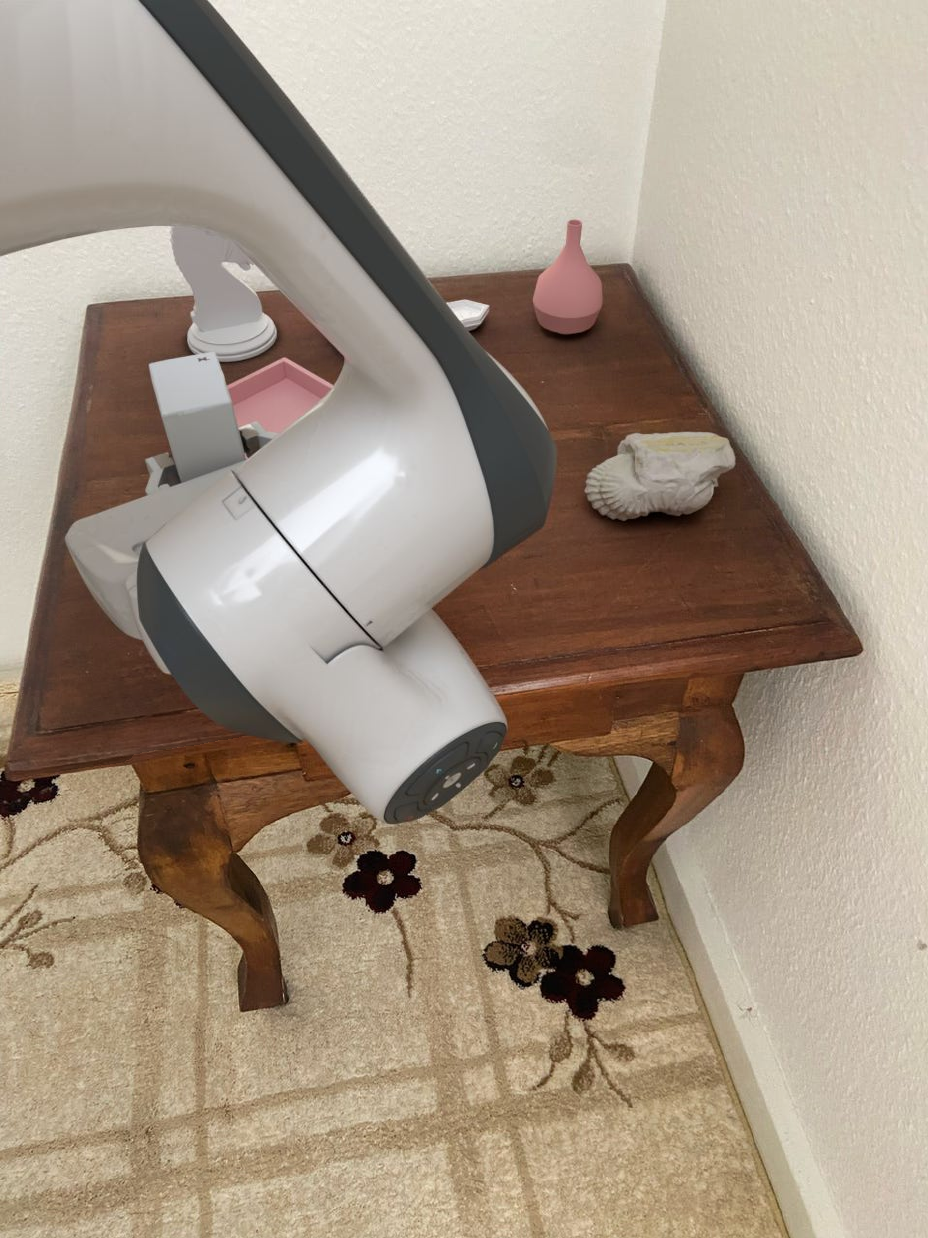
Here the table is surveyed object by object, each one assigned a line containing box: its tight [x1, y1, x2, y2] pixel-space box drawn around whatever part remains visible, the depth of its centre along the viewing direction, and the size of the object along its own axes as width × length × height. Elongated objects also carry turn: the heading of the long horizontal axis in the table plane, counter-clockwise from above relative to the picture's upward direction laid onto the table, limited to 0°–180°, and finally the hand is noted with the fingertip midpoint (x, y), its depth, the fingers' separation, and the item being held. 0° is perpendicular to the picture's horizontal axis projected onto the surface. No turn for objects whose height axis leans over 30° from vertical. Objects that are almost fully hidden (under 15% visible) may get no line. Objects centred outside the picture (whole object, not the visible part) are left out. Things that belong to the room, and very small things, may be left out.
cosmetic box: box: [148, 352, 246, 483], centre depth 56 cm, size 6×4×12 cm
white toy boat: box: [446, 299, 490, 332], centre depth 97 cm, size 6×12×3 cm, turn 112°
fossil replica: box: [584, 431, 736, 522], centre depth 75 cm, size 12×8×10 cm
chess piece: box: [169, 226, 278, 363], centre depth 92 cm, size 10×10×15 cm
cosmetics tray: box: [227, 356, 334, 460], centre depth 85 cm, size 14×12×3 cm
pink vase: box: [532, 219, 604, 335], centre depth 94 cm, size 8×8×12 cm
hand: (203, 448), depth 56 cm, fingers closed on cosmetic box, 5 cm apart
